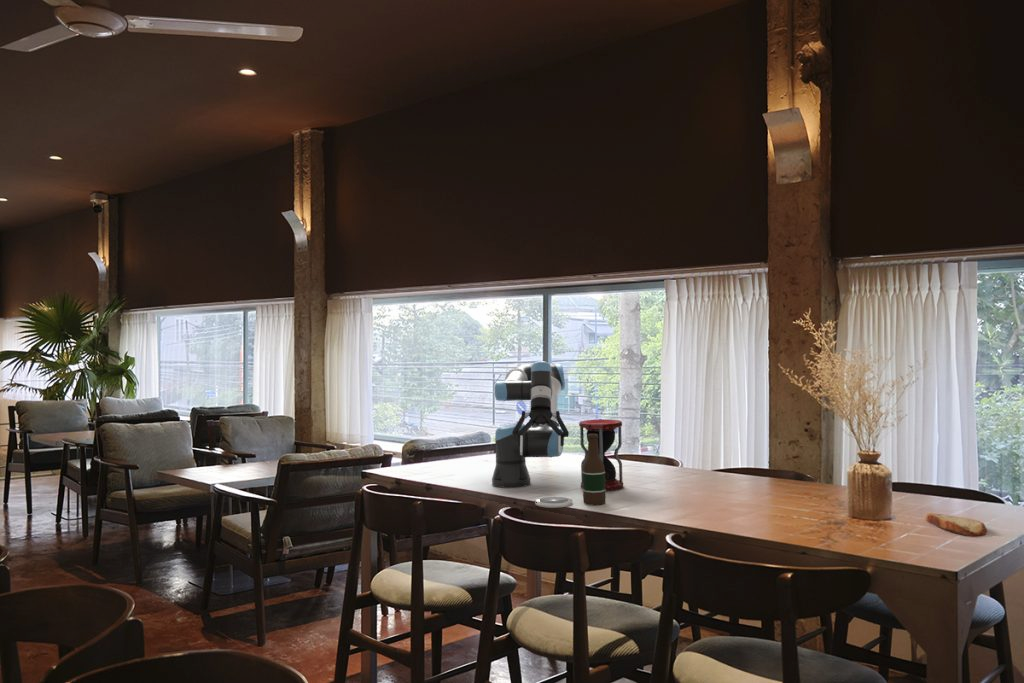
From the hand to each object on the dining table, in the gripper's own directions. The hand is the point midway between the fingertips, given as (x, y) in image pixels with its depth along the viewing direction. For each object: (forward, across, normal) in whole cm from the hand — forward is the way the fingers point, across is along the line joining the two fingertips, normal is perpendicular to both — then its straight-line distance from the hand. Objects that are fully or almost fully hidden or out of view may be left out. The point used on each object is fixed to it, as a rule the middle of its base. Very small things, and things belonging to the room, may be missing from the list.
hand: (540, 453), depth 292 cm
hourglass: (+2, +23, +26) cm, 35 cm away
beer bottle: (+17, +19, +3) cm, 26 cm away
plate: (+17, +5, +3) cm, 18 cm away
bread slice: (+37, +122, -31) cm, 131 cm away
